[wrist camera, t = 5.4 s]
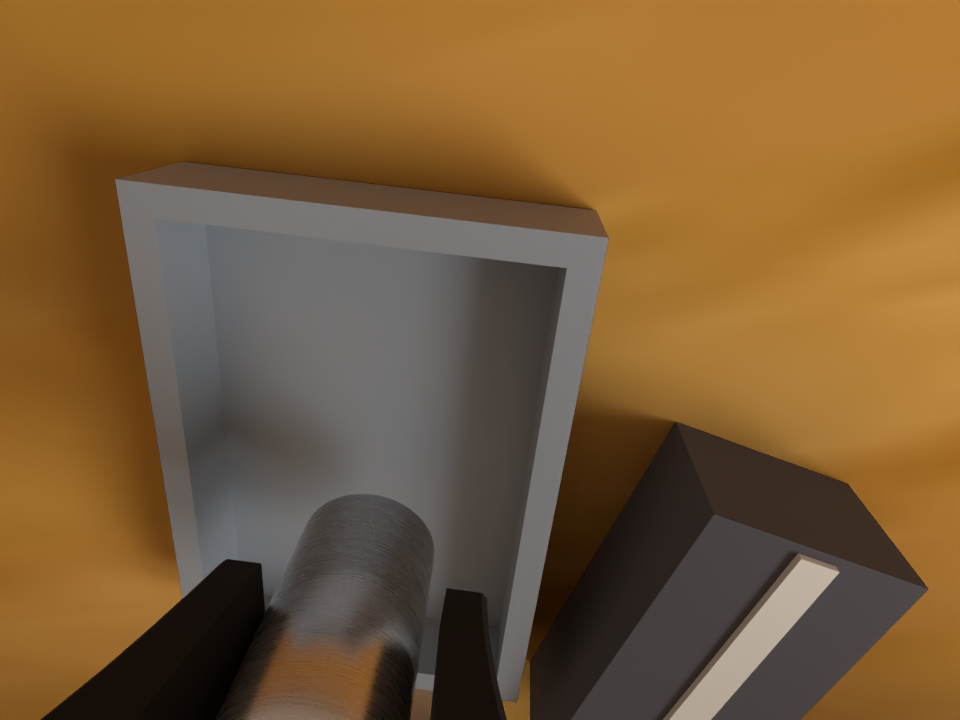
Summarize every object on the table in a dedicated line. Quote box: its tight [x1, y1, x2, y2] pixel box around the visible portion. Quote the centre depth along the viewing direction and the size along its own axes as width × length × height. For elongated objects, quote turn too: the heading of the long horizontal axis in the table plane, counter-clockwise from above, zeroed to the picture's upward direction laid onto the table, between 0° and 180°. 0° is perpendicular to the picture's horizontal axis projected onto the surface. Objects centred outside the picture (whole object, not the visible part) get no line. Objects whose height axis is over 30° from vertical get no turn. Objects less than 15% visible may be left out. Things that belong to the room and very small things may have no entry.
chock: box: [530, 422, 928, 720], centre depth 15 cm, size 9×4×4 cm, turn 160°
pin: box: [215, 494, 435, 720], centre depth 9 cm, size 3×3×7 cm
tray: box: [115, 162, 609, 702], centre depth 14 cm, size 12×8×2 cm
